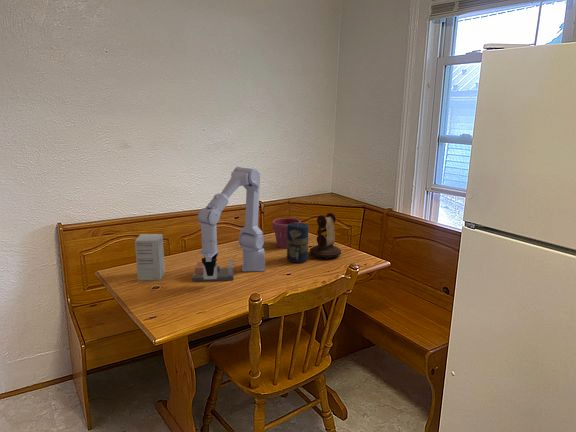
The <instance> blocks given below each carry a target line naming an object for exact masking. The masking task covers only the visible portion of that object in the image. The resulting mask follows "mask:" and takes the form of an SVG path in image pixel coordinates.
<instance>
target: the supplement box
mask: <svg viewBox="0 0 576 432" xmlns="http://www.w3.org/2000/svg"><path fill="white" fill-rule="evenodd" d="M134 248H135V259H136V262H135V263H136V272H137V273H136V274H137V280H138V279H139V280H138V281H161V280H162V278H163V276H164V274H165V273H166V272H165V255H164V254H165V253H164V238H163V234H162V233H150V234H149V233H141V234H139V235H138V236H137V238H136V239H135V241H134Z"/></svg>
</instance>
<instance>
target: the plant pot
mask: <svg viewBox="0 0 576 432" xmlns="http://www.w3.org/2000/svg"><path fill="white" fill-rule="evenodd" d="M295 222H300V223H302V222H301V220H300V219H298V218H292V217H283V218H282V217H281V218H280V217H279V218H275V219H274V220H272V226H271V227H272V230H273V231H274V235H275V236H274V237H275V241H276V245H277V246H278V248H281V249H282V248H283V249H287V227H288V225H289V224H290V223H295Z"/></svg>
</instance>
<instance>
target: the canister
mask: <svg viewBox="0 0 576 432" xmlns="http://www.w3.org/2000/svg"><path fill="white" fill-rule="evenodd" d="M308 253H309V225H308V224H307V223H304V222H301V223H300V222H295V223H290V224H289V225H288V227H287V248H286V258H287V260H288V261H289V262H293V263H304V262H306V261H307V260H308V258H309V254H308Z"/></svg>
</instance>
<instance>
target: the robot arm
mask: <svg viewBox="0 0 576 432" xmlns="http://www.w3.org/2000/svg"><path fill="white" fill-rule="evenodd" d="M239 187H243V188H244V189H245V190H246V194H245V195H246V198H245V217H244V218H245V219H244V227H242V228H241V229H240V231H239V233H240V234H239V236H238V244H239V246H241V249H242V265H241V271H242V272H263V271H265V266H266V260H265V248H264V247H263V246H264V243H265V239H264V232H263V231H262V230H261V228H259V226H258V225H259V207H260V206H259V205H260V189H261V188H260V187H261V173H260V172H259V170H258V169H256V168H250V167H249V168H248V167H243V166H242V167H241V166H236V167H235V168H234V169H233V170H232V172H231V174H230V179H229V181H228V182H227V184H226V185H225V186H224V188H223V189H222V191H221V192H220V193H216V194H214V195H213V197H212V199H211V200H210V202H209V203H208V204H207V205H206V207H203V208H201V209H200V210H199V211H198V213H197V216H196V219H197V221H198V223H199V227H200V231H201V234H200V235H201V249H200V250H198V253H199V254H202V256H203V257H202V258H201V262H202V263H203V264H204V266H205V269H206V273H207V276H213V273H214V266H215V263H217V262H218V255H219V249H218V237H217V235H218V234H217V233H218V232H217V231H218V230H217V224H218V223H219V221H220V217H221V215H222V212H223V211H224V209H225V208H226V206H228V204H229V198H230V197H231V196H232V195H233V194H234V193H235V191H236V190H238V188H239Z"/></svg>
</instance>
